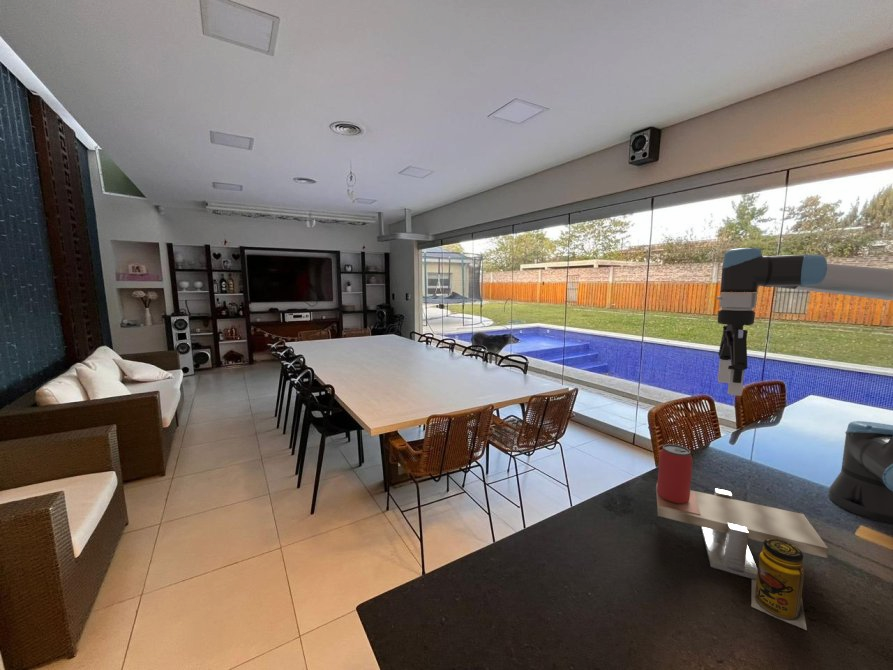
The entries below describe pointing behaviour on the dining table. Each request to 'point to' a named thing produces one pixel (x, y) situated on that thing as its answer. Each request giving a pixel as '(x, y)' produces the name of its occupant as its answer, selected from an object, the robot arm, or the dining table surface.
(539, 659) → the dining table surface
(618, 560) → the dining table surface
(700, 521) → the balance beam
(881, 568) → the dining table surface
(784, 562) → the condiment
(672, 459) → the beer can
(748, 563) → the pivot stand
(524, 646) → the dining table surface
